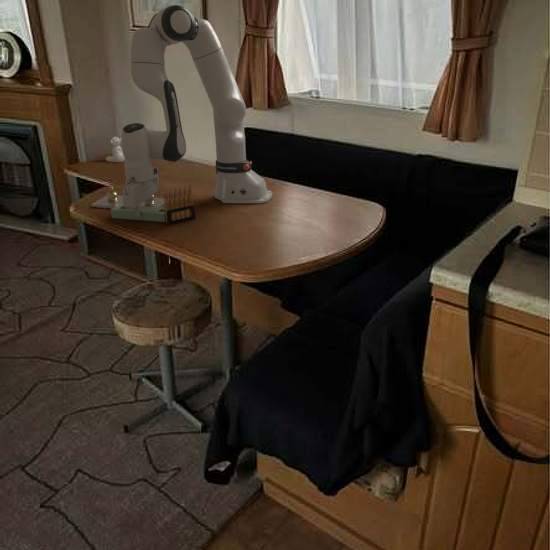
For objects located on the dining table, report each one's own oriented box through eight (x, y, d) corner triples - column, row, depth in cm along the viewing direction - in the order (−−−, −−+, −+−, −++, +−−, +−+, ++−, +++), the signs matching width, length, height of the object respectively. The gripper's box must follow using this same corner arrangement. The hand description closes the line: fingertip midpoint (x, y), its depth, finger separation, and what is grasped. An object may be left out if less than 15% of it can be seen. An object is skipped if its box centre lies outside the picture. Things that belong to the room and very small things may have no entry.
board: (177, 216, 190) (176, 208, 188) (170, 222, 184) (169, 214, 183) (120, 212, 194) (118, 204, 193) (111, 217, 189) (110, 209, 188)
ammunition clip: (167, 225, 182) (164, 190, 177) (165, 223, 183) (161, 189, 178) (195, 218, 188) (193, 185, 182) (193, 217, 189) (190, 184, 184)
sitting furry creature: (123, 158, 269) (120, 133, 264) (131, 161, 263) (128, 136, 258) (105, 161, 264) (102, 136, 259) (113, 164, 258) (109, 138, 253)
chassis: (170, 202, 205) (168, 184, 202) (157, 212, 194) (154, 193, 191) (108, 197, 210) (105, 180, 207) (91, 207, 200) (88, 189, 197)
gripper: (133, 182, 173) (138, 223, 179) (160, 167, 191) (163, 204, 197) (115, 181, 174) (120, 222, 180) (143, 166, 192) (148, 203, 198)
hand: (143, 212), depth 189 cm, fingers closed on board, 6 cm apart
